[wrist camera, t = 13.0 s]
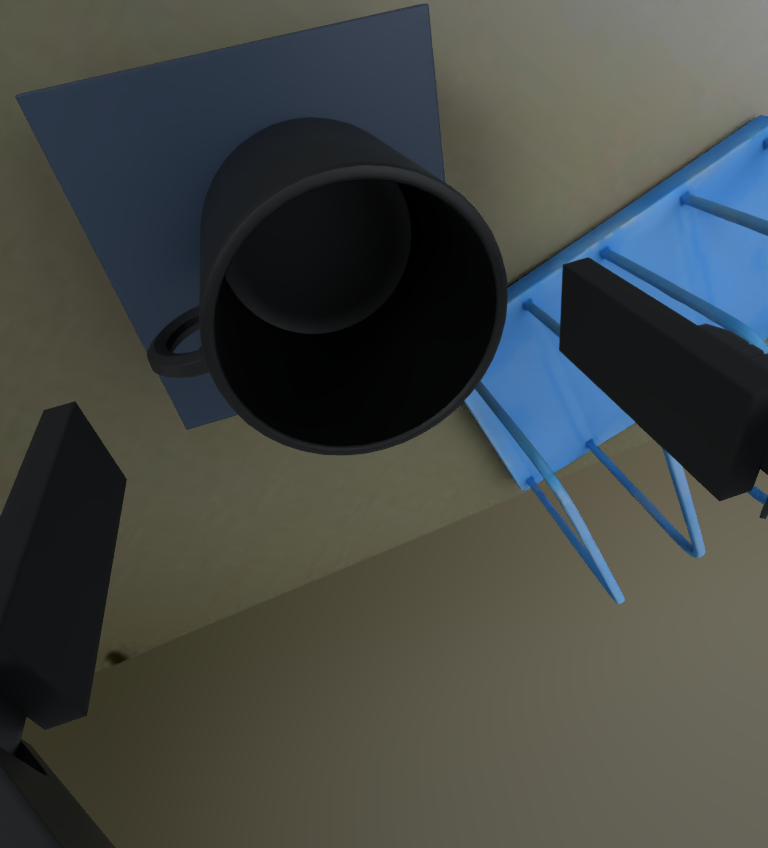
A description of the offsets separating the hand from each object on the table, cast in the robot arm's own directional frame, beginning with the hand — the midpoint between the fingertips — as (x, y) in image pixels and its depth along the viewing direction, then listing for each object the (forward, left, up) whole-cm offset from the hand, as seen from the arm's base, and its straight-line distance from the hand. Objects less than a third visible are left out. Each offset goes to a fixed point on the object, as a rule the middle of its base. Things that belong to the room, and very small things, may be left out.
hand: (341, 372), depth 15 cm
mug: (0, 0, -11) cm, 11 cm away
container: (0, 0, -19) cm, 19 cm away
